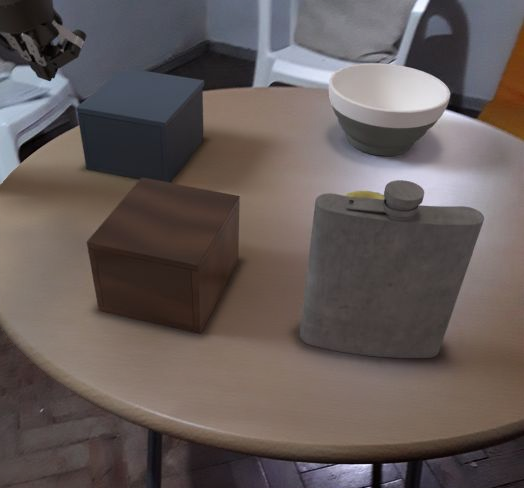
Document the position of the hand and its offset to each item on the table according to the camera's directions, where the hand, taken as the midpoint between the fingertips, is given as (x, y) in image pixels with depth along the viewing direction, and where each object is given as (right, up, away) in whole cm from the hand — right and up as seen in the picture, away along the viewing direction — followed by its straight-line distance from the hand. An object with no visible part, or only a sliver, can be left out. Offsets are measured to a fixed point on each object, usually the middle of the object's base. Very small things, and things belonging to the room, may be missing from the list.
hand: (47, 72), depth 74 cm
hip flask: (+37, -32, -2) cm, 49 cm away
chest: (+7, -1, +27) cm, 28 cm away
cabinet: (+14, -24, +4) cm, 28 cm away
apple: (+38, -19, +11) cm, 44 cm away
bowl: (+45, +3, +34) cm, 57 cm away
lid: (+7, +6, +21) cm, 23 cm away
